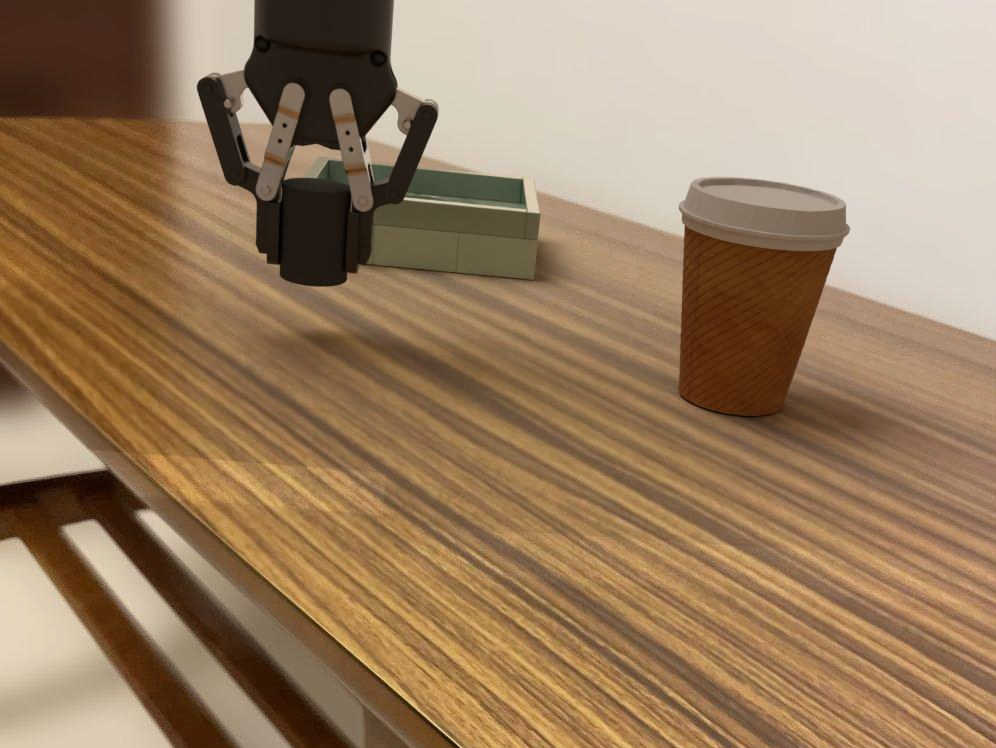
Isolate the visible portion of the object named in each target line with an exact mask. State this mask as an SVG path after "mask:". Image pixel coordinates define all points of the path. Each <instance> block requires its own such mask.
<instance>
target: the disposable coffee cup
mask: <svg viewBox="0 0 996 748" xmlns="http://www.w3.org/2000/svg"><path fill="white" fill-rule="evenodd" d="M678 210H679V212H680V214H681V223H682V224H683V225H684V232H683V233H684V235H683V249H682V250H683V259H682V282H681V286H682V287H681V289H682V290H681V313H680V314H681V315H680V317H681V318H680V344H679V370H678V372H679V374H678V393H679V394H680V396H681V397H683V398H684V399H685V400H686V401H689V402H690V403H692V404H694V405H696V406H699V407H701V408H703V409H704V408H705V409H707V410H710V411H714V412H718V413H721V414H726V415H735V416H747V417H758V416H766V415H771V414H775V413H777V412H780V411H781V410H782V409H783V408H784V406H785V403H786V400H787V396H788V393H789V391H790V388H791V384H792V381H793V378H794V376H795V373H796V369H797V366H798V364H799V361H800V358H801V356H802V352H803V350H804V347H805V344H806V341H807V337H808V335H809V332H810V330H811V326H812V323H813V319H814V317H815V315H816V312H817V308H818V306H819V303H820V299H821V297H822V294H823V291H824V288H825V285H826V283H827V278H828V276H829V273H830V271H831V267H832V264H833V262H834V259H835V255H836V253H837V249H838V248H840V247H841V246H842V244H843V243H844V239H845V238H846V237H847V236H848V235H849V234H850V231H851V227H850V225H849V224H848V223H847V203H846V202H845V200H843V199H842V198H840V197H838V196H836V195H834V194H831V193H828V192H825V191H822V190H819V189H818V190H817V189H814V188H810V187H806V186H802V185H797V184H792V183H787V182H782V181H775V180H768V179H759V178H752V177H751V178H750V177H738V176H737V177H736V176H707V177H706V176H705V177H700V178H696V179H694V180H692V181H691V183H690V185H689V187H688V191H687V192H686V196H685V198H684V200H682V201H680V203H679V204H678Z"/></svg>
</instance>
